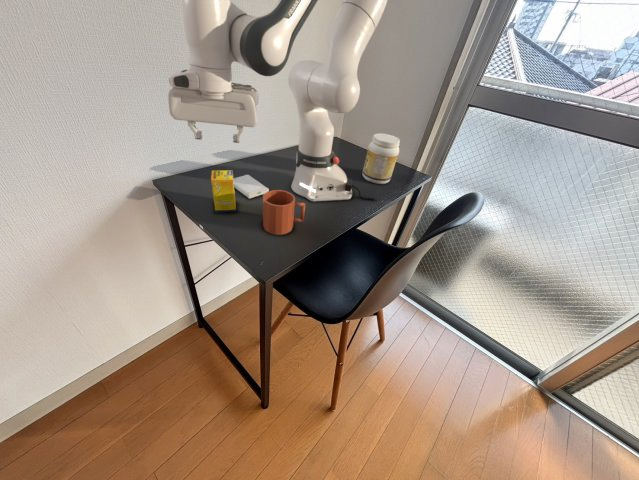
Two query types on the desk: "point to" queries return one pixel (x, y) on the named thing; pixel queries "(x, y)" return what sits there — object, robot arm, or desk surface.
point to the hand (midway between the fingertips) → (217, 140)
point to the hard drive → (249, 186)
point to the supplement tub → (381, 158)
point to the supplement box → (223, 190)
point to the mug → (280, 212)
